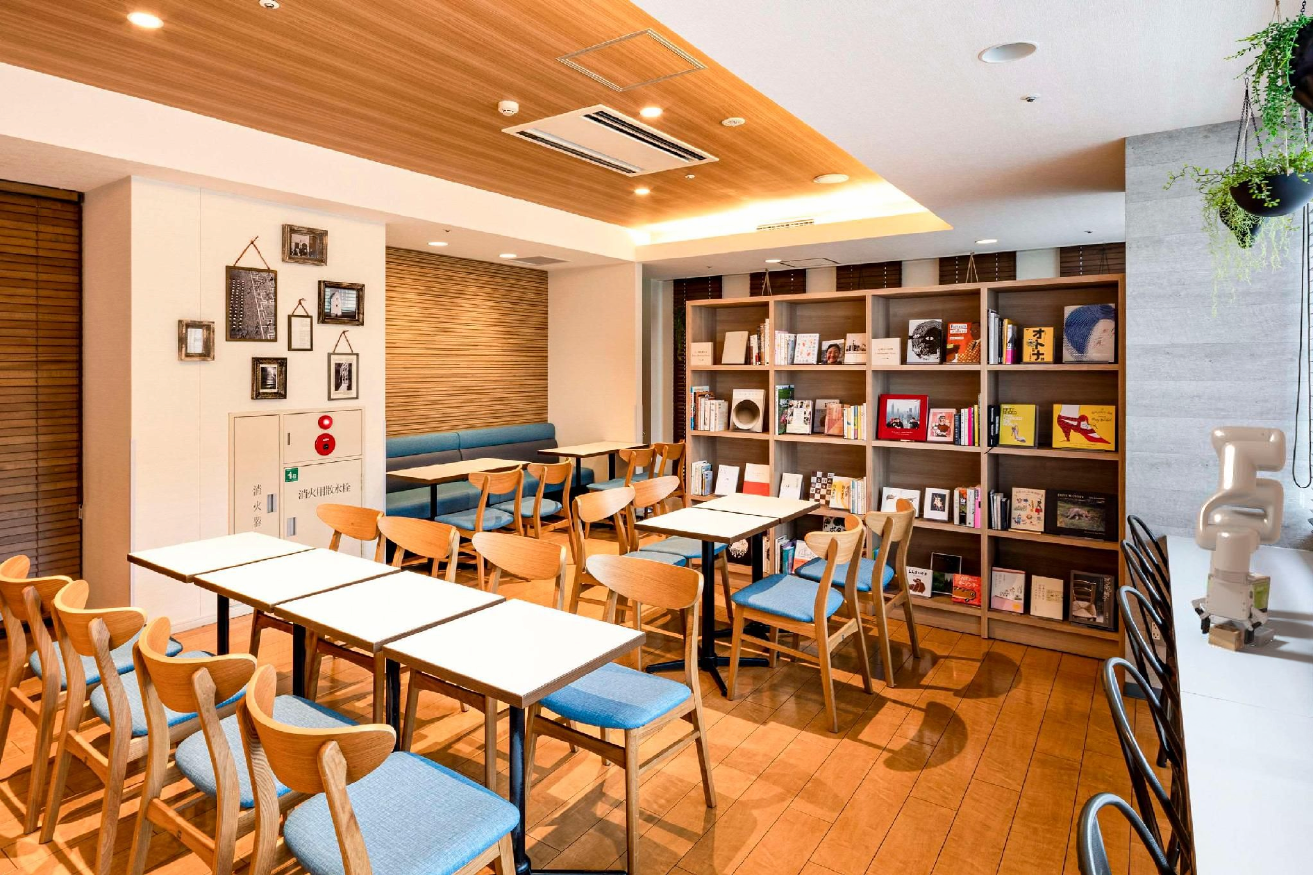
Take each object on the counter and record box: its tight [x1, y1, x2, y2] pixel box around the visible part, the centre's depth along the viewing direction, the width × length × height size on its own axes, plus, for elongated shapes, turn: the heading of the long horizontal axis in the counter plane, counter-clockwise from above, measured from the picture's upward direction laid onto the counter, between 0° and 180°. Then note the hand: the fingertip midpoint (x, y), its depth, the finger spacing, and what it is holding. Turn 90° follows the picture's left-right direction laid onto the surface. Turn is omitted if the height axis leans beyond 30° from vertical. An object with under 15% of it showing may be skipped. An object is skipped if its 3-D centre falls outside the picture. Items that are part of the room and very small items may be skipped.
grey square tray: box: [1220, 619, 1275, 648], centre depth 213 cm, size 11×11×3 cm
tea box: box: [1203, 571, 1271, 625], centre depth 226 cm, size 15×10×15 cm
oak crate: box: [1207, 623, 1245, 652], centre depth 207 cm, size 6×6×5 cm
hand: (1226, 638), depth 206 cm, fingers open, 9 cm apart
